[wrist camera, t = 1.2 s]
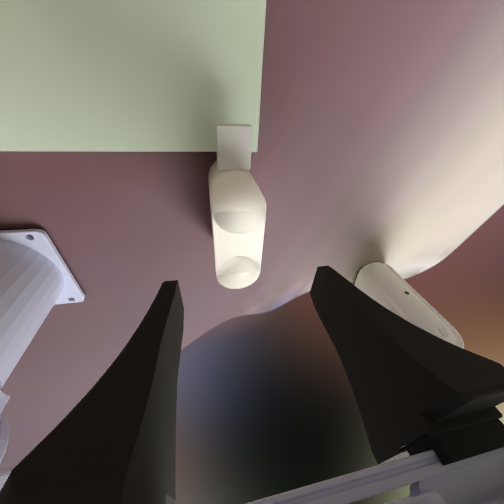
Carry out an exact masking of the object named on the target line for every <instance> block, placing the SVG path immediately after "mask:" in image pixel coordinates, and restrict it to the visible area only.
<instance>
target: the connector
mask: <svg viewBox="0 0 504 504" xmlns="http://www.w3.org/2000/svg"><path fill="white" fill-rule="evenodd" d="M215 125H216V147H217V160H216V161H215V162H214V163H213V164H212V165H211V167H210V169H209V173H208V182H209V197H210V211H211V225H212V237H213V247H214V257H215V267H216V277H217V280H218V282H219V283H220V284H221V285H223V286H225V287H227V288H231V289H239V288H244V287H247V286H249V285H251V284H252V283H253V282H255V281H256V280H257V278H258V277H259V274H260V268H261V258H262V248H263V238H264V228H265V217H266V201H265V199H264V196H263V195H262V193H261V191H260V189H259V188H258V186H257V184H256V182H255V180H254V179H253V177H252V175H251V173H250V171H249V170H250V166H251V143H252V126H251V125H250V124H226V123H215Z"/></svg>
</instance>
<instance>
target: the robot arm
mask: <svg viewBox="0 0 504 504" xmlns="http://www.w3.org/2000/svg"><path fill="white" fill-rule="evenodd" d="M28 234H29V235H32V236H33V237H31V236H29V235H28ZM310 294H311V298H312V300H313V303H314V306H315V309H316V311H317V313H318V315H319V317H320V319H321V320H322V323H323V325H324V327H325V329H326V331H327V332H328V334H329V336H330V338H331V340H332V342H333V344H334V346H335V348H336V350H337V352H338V354H339V356H340V359H341V361H342V364H343V366H344V369H345V371H346V374H347V376H348V379H349V382H350V384H351V387H352V390H353V393H354V395H355V398H356V401H357V404H358V407H359V410H360V413H361V416H362V419H363V423H364V426H365V429H366V432H367V436H368V439H369V443H370V446H371V450H372V452H373V455H374V457H375V459H376V461H377V463H378V464H381V465H377V466H374V467H370V468H367V469H364V470H360V471H357V472H353V473H350V474H346V475H343V476H339V477H336V478H333V479H329V480H326V481H322V482H319V483H315V484H312V485H308V486H305V487H301V488H298V489H294V490H291V491H288V492H284V493H281V494H277V495H274V496H270V497H267V498H263V499H260V500H257V501H253V502H250V503H246V504H349V503H352V502H355V501H358V500H361V499H365V498H368V497H371V496H374V495H377V494H380V493H383V492H386V491H390V490H393V489H396V488H399V487H402V486H406V485H408V484H411V485H410V495H409V496H408V497H404V498H401V499H397V500H394V501H391V502H387V503H384V504H504V424H503V423H502V422H501V421H500V420H499V419H498V418H501V417H502V414H501V413H500V412H499V411H498V409H497V408H496V407H495V406H496V405H498V404H500V403H502V402H504V367H503V366H502V365H501V364H499V363H497V362H494V361H492V360H489V359H487V358H485V357H482V356H480V355H477V354H475V353H472V352H470V351H467V350H465V349H463V348H460V347H458V346H456V345H454V344H452V343H449V342H447V341H445V340H443V339H441V338H439V337H437V336H435V335H433V334H431V333H429V332H427V331H425V330H423V329H421V328H419V327H417V326H416V325H414V324H412V323H410V322H408V321H407V320H405V319H403V318H402V317H400V316H398V315H397V314H395V313H393V312H392V311H390V310H388V309H387V308H385V307H384V306H382V305H381V304H379V303H378V302H376V301H375V300H374V299H372V298H371V297H369V296H368V295H367V294H365V293H364V292H362V291H361V290H360V289H358V288H357V287H356V286H354V285H353V284H352V283H351V282H349V281H348V280H347V279H345V278H344V277H343V276H341V275H340V274H339V273H338V272H336V271H335V270H334V269H332V268H331V267H329V266H321V267H318V268H317V271H316V275H315V278H314V281H313V284H312V287H311V291H310ZM84 298H85V295H84V293H83V292H82V290H81V288H80V287H79V285H78V283H77V282H76V280H75V279H74V277H73V275H72V274H71V272H70V270H69V269H68V267H67V265H66V264H65V262H64V260H63V259H62V257H61V256H60V254H59V252H58V251H57V249H56V247H55V246H54V244H53V242H52V241H51V239H50V238H49V236H48V234H47V233H46V232H45V231H43V230H41V229H22V230H3V231H0V414H1V412H2V410H3V408H4V407H5V405H6V403H7V402H8V400H9V398H10V396H9V395H7V394H5V393H3V392H2V391H1V388H2V387H3V385H4V383H5V382H6V380H7V379H8V377H9V375H10V374H11V372H12V371H13V369H14V367H15V366H16V364H17V363H18V361H19V359H20V358H21V356H22V355H23V353H24V351H25V350H26V348H27V347H28V345H29V344H30V342H31V340H32V339H33V337H34V336H35V334H36V332H37V331H38V329H39V328H40V326H41V324H42V323H43V321H44V320H45V318H46V316H47V315H48V313H49V312H50V310H51V308H52V307H53V305H56V304H65V303H74V302H82V301H83V300H84ZM183 321H184V307H183V303H182V298H181V293H180V289H179V284H178V280H175V281H165V282H163V283H162V285H161V287H160V289H159V292H158V294H157V296H156V298H155V299H154V301H153V303H152V305H151V307H150V309H149V310H148V312H147V314H146V315H145V317H144V319H143V320H142V322H141V324H140V325H139V327H138V328H137V330H136V331H135V333H134V334H133V336H132V337H131V339H130V340H129V342H128V343H127V345H126V346H125V347H124V349H123V350H122V352H121V353H120V354H119V356H118V357H117V358H116V359H115V361H114V362H113V363H112V365H111V366H110V367H109V368H108V370H107V371H106V372H105V373H104V374H103V376H102V377H101V378H100V379H99V381H98V382H97V383H96V384H95V385H94V386H93V388H92V389H91V390H90V391H89V392H88V393H87V394H86V395H85V397H84V398H83V399H82V400H81V401H80V402H79V403H78V404H77V405H76V406H75V407H74V408H73V409H72V411H71V412H70V413H69V414H68V415H67V416H66V417H65V418H64V419H63V420H62V421H61V422H60V423H59V424H58V425H57V426H56V428H55V429H54V430H53V431H52V432H51V433H49V434H48V435H47V436H46V437H45V438H44V439H43V440H42V441H41V442H40V443H39V444H38V445H37V446H36V447H35V448H34V449H33V450H32V451H31V452H30V453H29V454H28V455H27V456H26V457H25V458H24V459H23V460H22V461H21V462H20V463H19V464H18V465H17V466H16V467H15V468H14V469H13V470H12V471H11V473H10V475H9V477H8V479H7V481H6V482H5V484H4V486H3V488H2V489H1V491H0V504H173V503H174V502H175V447H176V446H175V445H176V441H175V440H176V398H177V378H178V377H177V376H178V368H179V360H180V352H181V344H182V336H183ZM8 439H9V425H8V422H7V420H6V419H5V418H4V417H3V416H1V415H0V463H1V461H2V458H3V456H4V454H5V451H6V447H7V444H8ZM406 456H409V457H406ZM403 457H405V458H403ZM399 458H402V459H399ZM396 459H398V460H396ZM392 460H395V461H392ZM389 461H392V462H389ZM385 462H388V463H385ZM382 463H384V464H382Z"/></svg>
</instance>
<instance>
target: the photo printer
mask: <svg viewBox="0 0 504 504" xmlns="http://www.w3.org/2000/svg"><path fill="white" fill-rule="evenodd" d="M354 286H356V287H357V288H358V289H360V290H361V291H362V292H364V293H365V294H367V295H368V296H369V297H371V298H372V299H374V300H375V301H376V302H378V303H379V304H381V305H382V306H384V307H385V308H387V309H388V310H390V311H392V312H393V313H395V314H397V315H398V316H400V317H402V318H403V319H405V320H407V321H408V322H410V323H412V324H414V325H416V326H417V327H419V328H421V329H423V330H425V331H427V332H429V333H431V334H433V335H435V336H437V337H439V338H441V339H443V340H445V341H447V342H449V343H452V344H454V345H456V346H458V347H460V348H463V349H464V343H463V340H462V338H461V336H460V334H459V333H458V332H457V331H456V329H455V328H454V327H453V326H452V325H450V324H449V323H448V322H447V321H446V320H445V319H444V318H443V317H442V316H441V315H440V314H439V313H438V312H437V311H436V310H435V309H434V308H433V307H432V306H431V305H430V304H428V303H427V301H426V300H424V299H423V298H422V297H421V296H420V295H419V294H418V293H417V292H416V291H415V290H414V289H413V288H412V287H411V286H410V285H409V284H408V283H407V282H406V281H405V280H404V279H403V278H402V277H401V276H400V275H399V274H398V273H397V272H396V271H395V270H394V269H393V268H391V267H390V266H389V265H387V264H383V263H381V262H373V263H369V264H367V265H365V266H364V267H363V268H362V269H361V270H360V271H359V273H358V275H357V278H356V281H355V284H354Z"/></svg>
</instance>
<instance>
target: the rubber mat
mask: <svg viewBox="0 0 504 504" xmlns="http://www.w3.org/2000/svg"><path fill="white" fill-rule="evenodd" d="M265 12H266V0H0V151H119V152H217V147H216V125H215V123H226V124H250V125H251V126H252V143H251V152H257V146H258V129H259V112H260V96H261V79H262V62H263V46H264V29H265Z"/></svg>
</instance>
